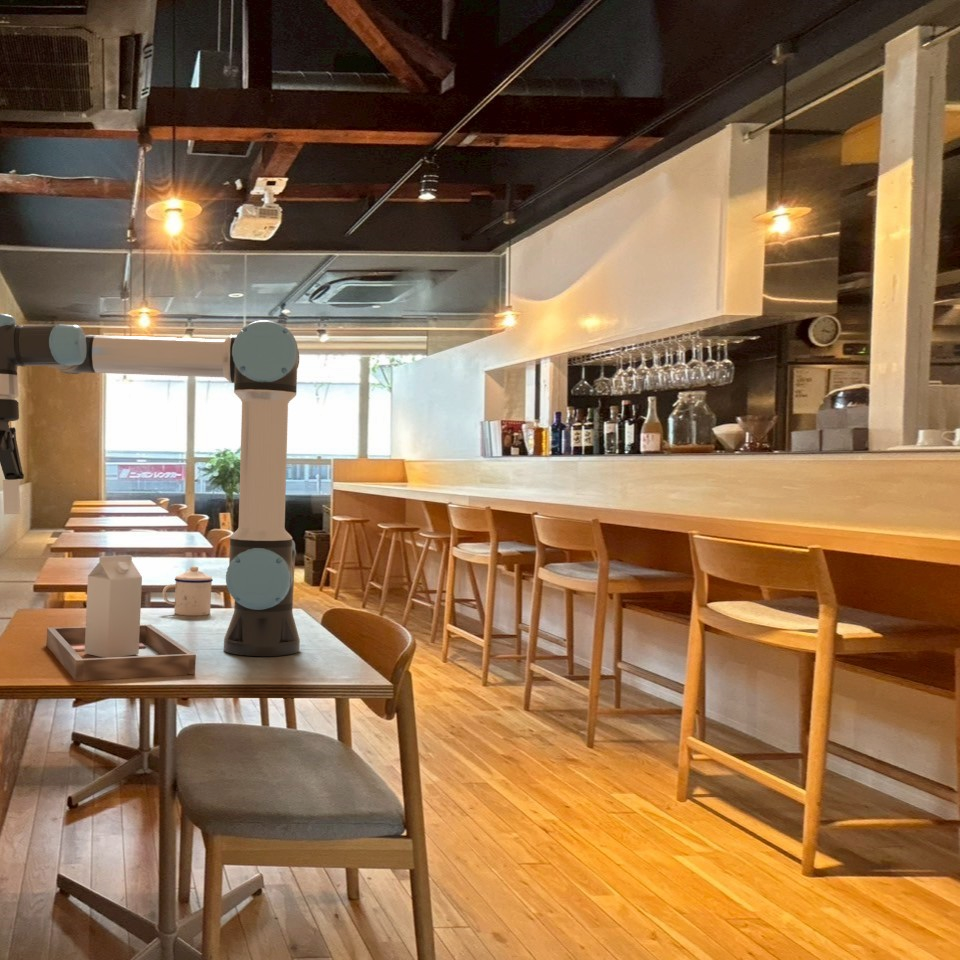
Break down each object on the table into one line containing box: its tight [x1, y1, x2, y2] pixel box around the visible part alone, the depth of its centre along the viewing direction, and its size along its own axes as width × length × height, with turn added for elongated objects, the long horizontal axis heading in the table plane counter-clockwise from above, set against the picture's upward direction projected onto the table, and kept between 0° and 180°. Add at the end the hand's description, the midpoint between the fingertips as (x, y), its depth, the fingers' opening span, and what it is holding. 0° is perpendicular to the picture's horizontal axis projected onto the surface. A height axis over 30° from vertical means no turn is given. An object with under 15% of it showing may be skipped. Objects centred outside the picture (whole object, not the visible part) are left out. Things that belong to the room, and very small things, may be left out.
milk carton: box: [84, 554, 143, 658], centre depth 197 cm, size 7×7×19 cm
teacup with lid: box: [161, 566, 213, 617], centre depth 255 cm, size 12×9×12 cm
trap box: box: [46, 624, 197, 682], centre depth 193 cm, size 20×36×4 cm, turn 30°
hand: (0, 515), depth 189 cm, fingers open, 13 cm apart
